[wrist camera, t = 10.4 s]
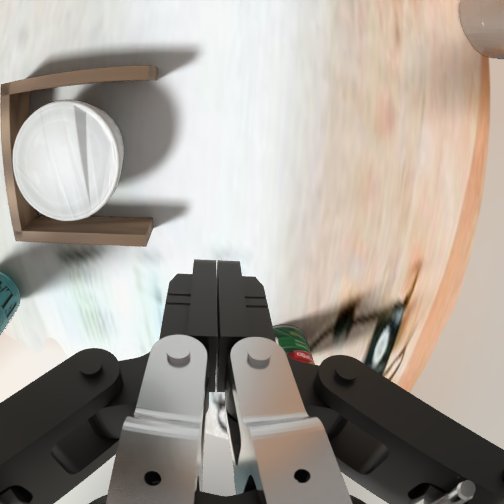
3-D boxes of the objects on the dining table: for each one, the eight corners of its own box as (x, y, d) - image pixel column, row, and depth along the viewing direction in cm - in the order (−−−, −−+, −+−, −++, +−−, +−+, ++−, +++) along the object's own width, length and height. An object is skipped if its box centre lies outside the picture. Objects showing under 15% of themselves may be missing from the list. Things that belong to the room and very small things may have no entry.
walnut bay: (21, 82, 22) (0, 84, 19) (157, 67, 25) (149, 65, 21) (31, 225, 30) (15, 241, 27) (152, 228, 32) (146, 246, 29)
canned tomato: (317, 332, 42) (340, 395, 33) (288, 368, 46) (304, 429, 36) (266, 318, 40) (281, 386, 31) (240, 357, 43) (248, 423, 34)
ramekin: (156, 158, 29) (145, 172, 24) (80, 221, 31) (62, 244, 27) (91, 73, 24) (68, 72, 19) (21, 146, 26) (-6, 159, 21)
